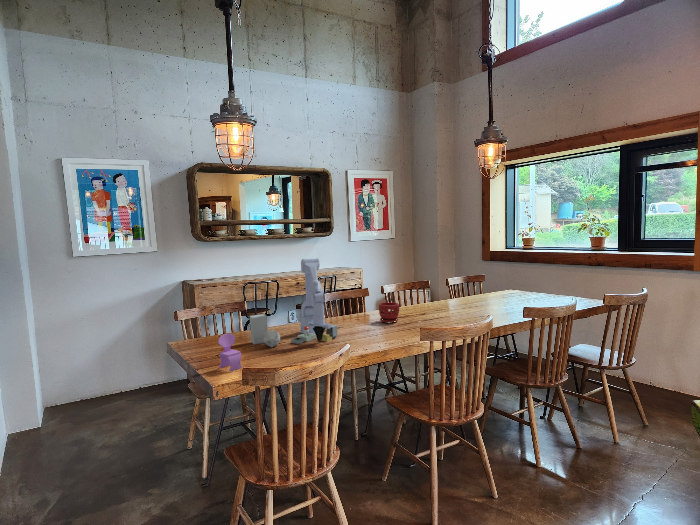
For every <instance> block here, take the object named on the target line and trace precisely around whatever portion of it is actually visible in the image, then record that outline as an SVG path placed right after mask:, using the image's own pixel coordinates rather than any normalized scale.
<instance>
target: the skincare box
mask: <svg viewBox="0 0 700 525" xmlns="http://www.w3.org/2000/svg"><path fill="white" fill-rule="evenodd" d="M249 325H250V326H249V327H250V328H249V329H250V341H251V343H252V344H253V345H259V344H265V343H264V342H263V336H264V335H265V333H266V332H267V331H269V330H268V316H267V315H266V314H265V313H261V314H255V315H254V314H253V315H249Z"/></svg>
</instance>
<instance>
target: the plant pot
mask: <svg viewBox="0 0 700 525" xmlns="http://www.w3.org/2000/svg"><path fill="white" fill-rule="evenodd" d="M378 312H379V316H380V319H379V321H380V322H381V321H383V322H394V321H397V322H398V321H399V314H400V303H398V302H389V301H388V302H380V303H379V304H378ZM382 319H383V320H382ZM396 319H397V320H396ZM383 322H382V323H383Z"/></svg>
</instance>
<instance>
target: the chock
mask: <svg viewBox="0 0 700 525" xmlns="http://www.w3.org/2000/svg"><path fill="white" fill-rule="evenodd" d="M321 341H322V342H327V343H328V342H330V341H333V339H332V337H330V335H328V334H326V333H323V336H322V340H321Z"/></svg>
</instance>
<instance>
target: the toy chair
mask: <svg viewBox="0 0 700 525" xmlns="http://www.w3.org/2000/svg"><path fill="white" fill-rule="evenodd" d="M235 342H236V336H235V335H234V334H231V333H224V334H222V335H221V336H220V337H219V338H218V340H217V343H218V345H219V346H221V347H222V349H223V351H221V352H219V358H220V363H219V367H218V369H223V368H225V366H226V367H229V366H230V368H229V370H228V372H229V371H231V372H234V371H233V370H235V371H237V370H236V369H238V370H241V369H243V367H242V364H241V361H242V360H241V359H242V352H241V351H240V350H236V349H231V347H232V346H233V345H234V344H235ZM222 367H223V368H222ZM240 368H241V369H240Z"/></svg>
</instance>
